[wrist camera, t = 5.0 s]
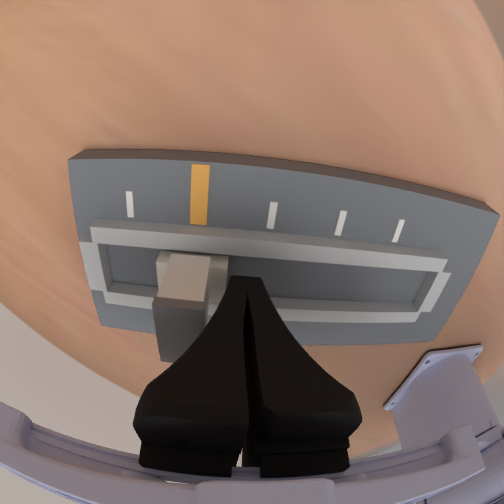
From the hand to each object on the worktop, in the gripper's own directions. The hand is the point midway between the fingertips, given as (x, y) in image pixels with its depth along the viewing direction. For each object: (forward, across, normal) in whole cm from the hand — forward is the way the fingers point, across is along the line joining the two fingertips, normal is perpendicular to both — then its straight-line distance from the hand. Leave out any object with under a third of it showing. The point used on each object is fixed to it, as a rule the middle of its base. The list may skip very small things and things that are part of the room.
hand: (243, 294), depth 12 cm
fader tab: (+1, +2, 0) cm, 3 cm away
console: (+3, -3, 0) cm, 4 cm away
